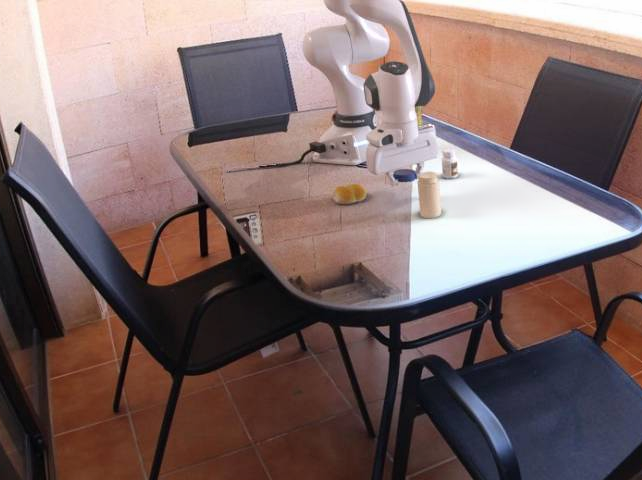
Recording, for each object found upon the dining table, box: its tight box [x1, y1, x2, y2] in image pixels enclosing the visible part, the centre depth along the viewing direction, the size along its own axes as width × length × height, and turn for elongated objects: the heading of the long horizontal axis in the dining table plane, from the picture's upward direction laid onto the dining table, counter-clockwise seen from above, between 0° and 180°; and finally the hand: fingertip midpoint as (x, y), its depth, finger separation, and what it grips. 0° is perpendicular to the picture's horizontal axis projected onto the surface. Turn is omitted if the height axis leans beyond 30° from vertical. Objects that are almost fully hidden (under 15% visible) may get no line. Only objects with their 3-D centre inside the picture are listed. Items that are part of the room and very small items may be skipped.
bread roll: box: [332, 183, 367, 205], centre depth 181 cm, size 8×9×4 cm
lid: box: [392, 168, 416, 183], centre depth 175 cm, size 6×6×2 cm
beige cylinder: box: [417, 171, 442, 219], centre depth 168 cm, size 5×5×11 cm
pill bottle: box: [441, 148, 459, 179], centre depth 191 cm, size 4×4×8 cm
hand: (406, 181), depth 176 cm, fingers closed on lid, 6 cm apart
